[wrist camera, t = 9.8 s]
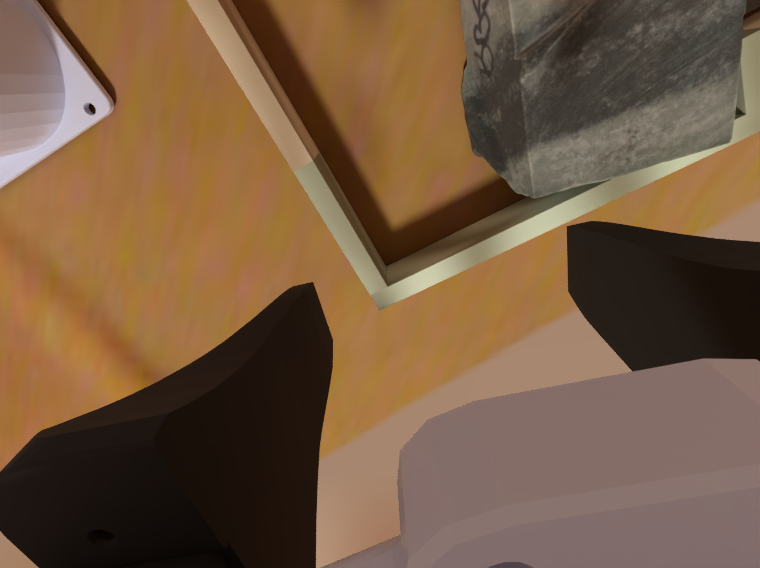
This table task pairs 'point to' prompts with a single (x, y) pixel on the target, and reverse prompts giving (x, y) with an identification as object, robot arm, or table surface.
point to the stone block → (597, 85)
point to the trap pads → (752, 5)
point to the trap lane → (471, 244)
